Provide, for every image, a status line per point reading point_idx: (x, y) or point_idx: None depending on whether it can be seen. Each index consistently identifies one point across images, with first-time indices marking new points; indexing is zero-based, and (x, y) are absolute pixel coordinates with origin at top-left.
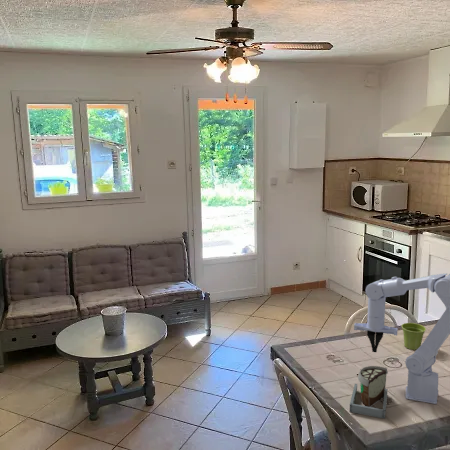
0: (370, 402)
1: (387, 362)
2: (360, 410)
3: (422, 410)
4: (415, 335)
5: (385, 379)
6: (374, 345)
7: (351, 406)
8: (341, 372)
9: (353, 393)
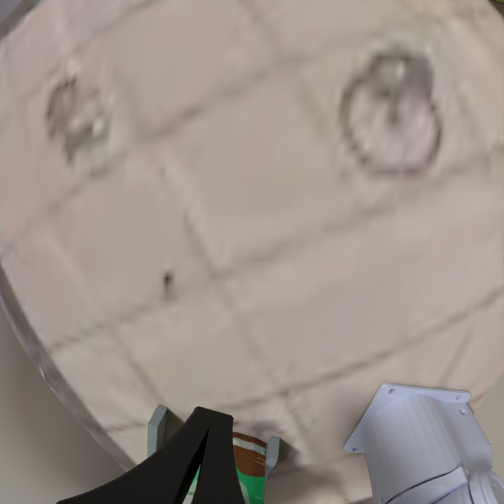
0: None
1: (368, 111)
2: None
3: (367, 478)
4: None
5: (261, 496)
6: (193, 472)
7: None
8: (97, 266)
9: None
